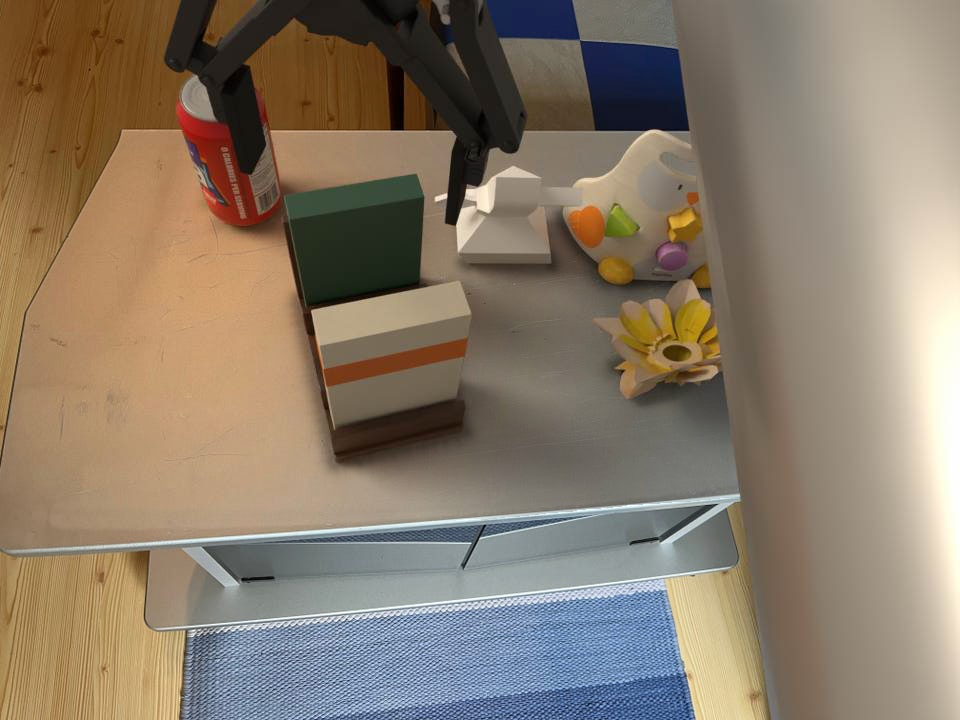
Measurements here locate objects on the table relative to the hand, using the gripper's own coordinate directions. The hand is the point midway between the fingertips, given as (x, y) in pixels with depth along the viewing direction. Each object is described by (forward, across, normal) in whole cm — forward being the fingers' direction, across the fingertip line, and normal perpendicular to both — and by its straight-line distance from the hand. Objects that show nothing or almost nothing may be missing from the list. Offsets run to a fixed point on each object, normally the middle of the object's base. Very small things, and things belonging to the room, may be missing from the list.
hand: (354, 184), depth 48 cm
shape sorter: (+27, -26, -23) cm, 44 cm away
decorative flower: (+27, -29, -10) cm, 41 cm away
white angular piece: (+27, -9, -19) cm, 34 cm away
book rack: (+27, -1, -1) cm, 27 cm away
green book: (+26, +2, -6) cm, 26 cm away
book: (+26, -4, +4) cm, 26 cm away
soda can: (+27, +18, -16) cm, 36 cm away
